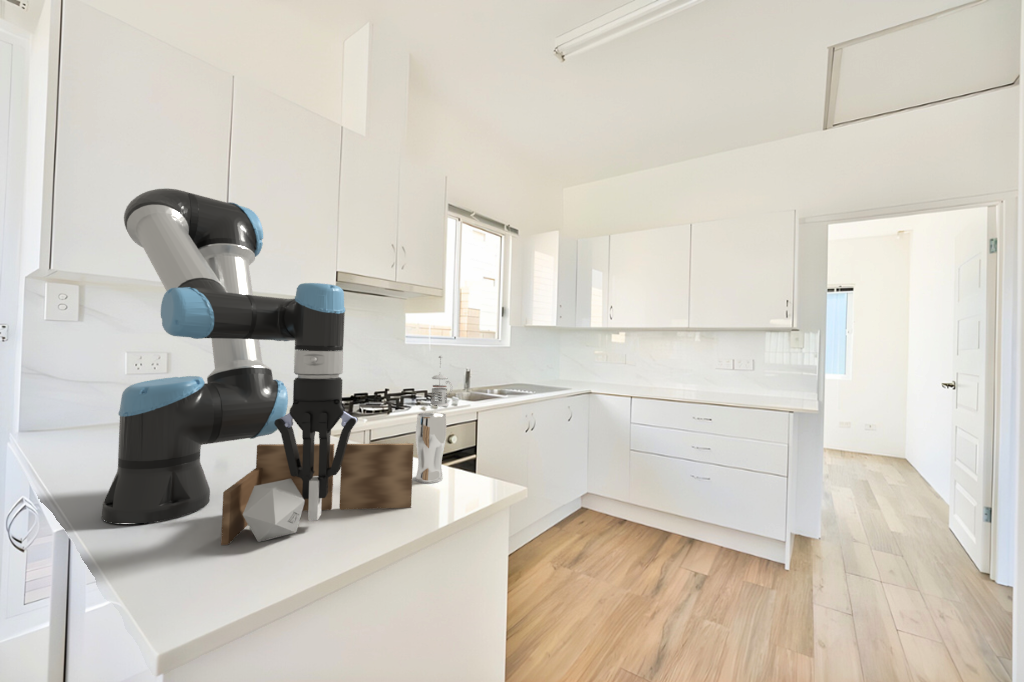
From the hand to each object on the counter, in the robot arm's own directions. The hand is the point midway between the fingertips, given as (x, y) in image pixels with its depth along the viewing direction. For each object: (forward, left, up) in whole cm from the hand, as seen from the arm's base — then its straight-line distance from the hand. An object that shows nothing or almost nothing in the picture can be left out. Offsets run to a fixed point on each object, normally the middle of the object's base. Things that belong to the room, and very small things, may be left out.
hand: (314, 517), depth 74 cm
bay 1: (-5, +2, -2) cm, 6 cm away
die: (-5, -2, -2) cm, 6 cm away
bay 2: (+9, +8, -2) cm, 12 cm away
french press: (+25, +148, -2) cm, 150 cm away
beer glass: (+19, +25, -2) cm, 32 cm away
